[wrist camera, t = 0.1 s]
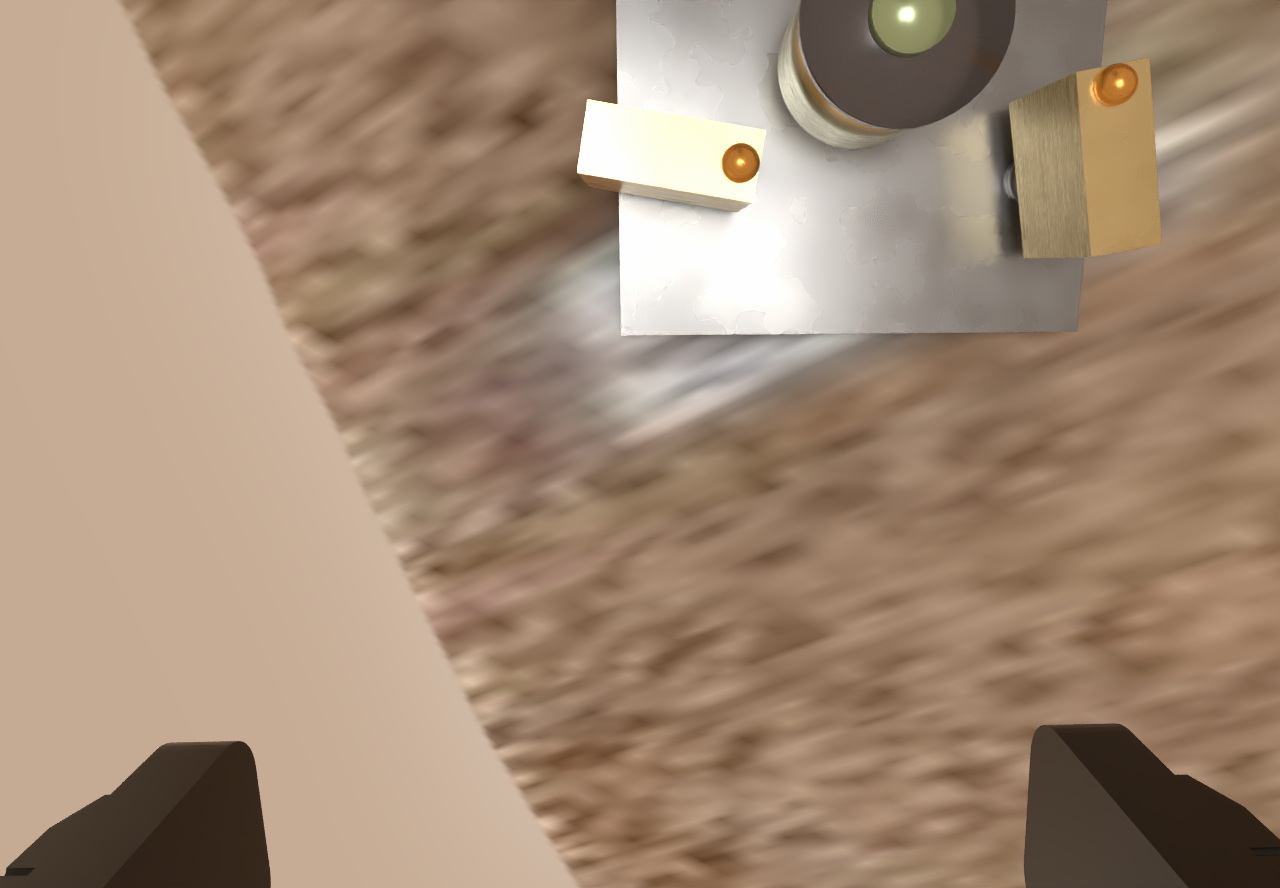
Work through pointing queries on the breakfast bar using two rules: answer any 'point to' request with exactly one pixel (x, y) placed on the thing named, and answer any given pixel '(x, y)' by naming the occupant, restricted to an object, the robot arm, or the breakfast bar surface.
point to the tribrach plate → (849, 165)
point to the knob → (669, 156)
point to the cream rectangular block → (1086, 164)
